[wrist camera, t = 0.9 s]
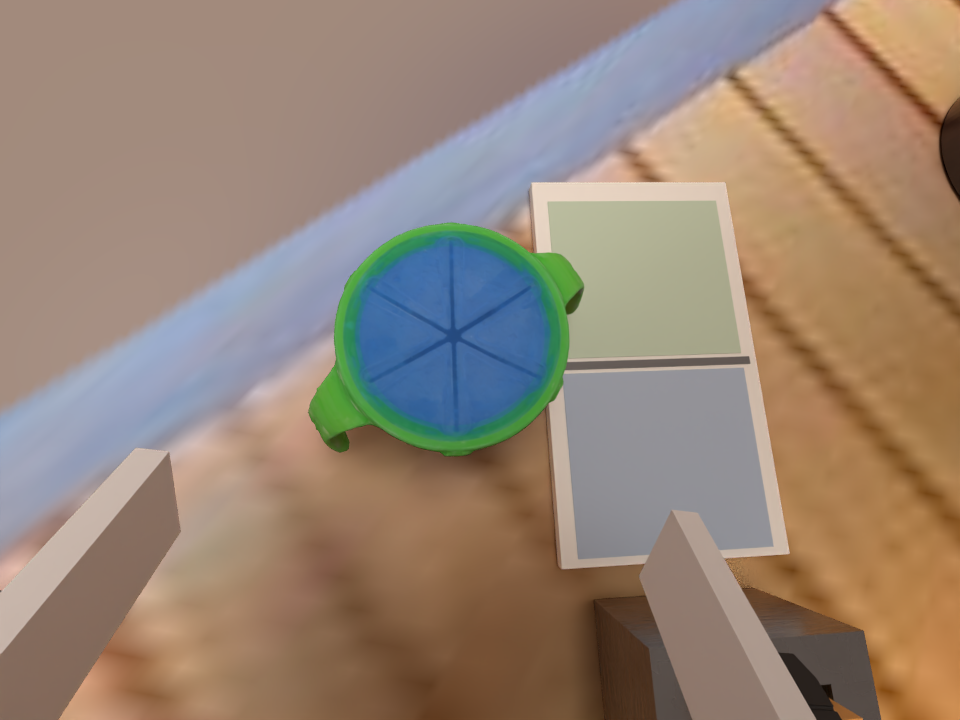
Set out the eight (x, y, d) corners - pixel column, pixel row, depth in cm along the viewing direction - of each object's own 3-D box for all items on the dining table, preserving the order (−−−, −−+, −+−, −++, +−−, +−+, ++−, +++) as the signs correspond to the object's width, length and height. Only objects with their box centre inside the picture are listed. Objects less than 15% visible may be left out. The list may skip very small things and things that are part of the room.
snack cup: (370, 506, 29) (333, 526, 19) (304, 351, 31) (238, 296, 21) (594, 395, 32) (662, 362, 22) (521, 258, 33) (553, 169, 23)
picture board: (717, 189, 36) (726, 181, 35) (778, 551, 30) (790, 554, 29) (528, 190, 34) (531, 181, 33) (558, 565, 29) (562, 569, 28)
